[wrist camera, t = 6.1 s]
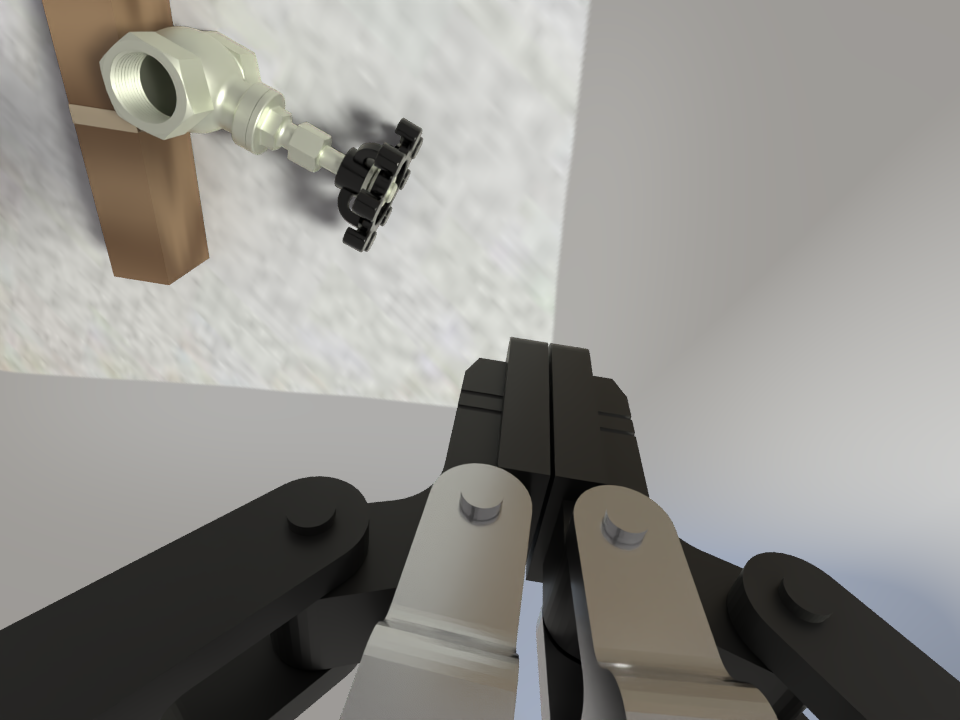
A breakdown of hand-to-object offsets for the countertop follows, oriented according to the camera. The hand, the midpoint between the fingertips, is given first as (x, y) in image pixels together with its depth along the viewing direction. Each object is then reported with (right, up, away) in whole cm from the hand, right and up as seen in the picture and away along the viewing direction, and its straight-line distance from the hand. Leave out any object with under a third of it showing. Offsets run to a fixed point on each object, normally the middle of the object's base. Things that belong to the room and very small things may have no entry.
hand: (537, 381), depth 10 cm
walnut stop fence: (-18, +13, +17) cm, 28 cm away
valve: (-10, +13, +17) cm, 23 cm away
